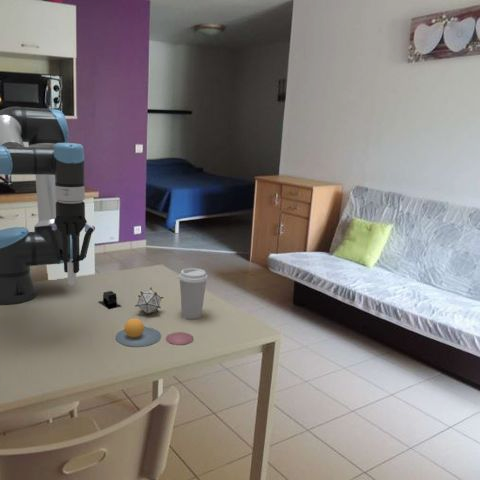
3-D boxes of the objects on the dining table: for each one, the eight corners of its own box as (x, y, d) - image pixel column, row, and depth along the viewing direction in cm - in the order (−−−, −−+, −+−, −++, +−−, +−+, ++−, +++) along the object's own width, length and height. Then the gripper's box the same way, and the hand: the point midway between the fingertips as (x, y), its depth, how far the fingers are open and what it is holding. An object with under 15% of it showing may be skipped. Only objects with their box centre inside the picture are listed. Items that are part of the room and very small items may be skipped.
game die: (147, 321, 159) (151, 292, 163) (166, 318, 155) (170, 289, 159) (127, 314, 153) (132, 284, 157) (146, 311, 148) (151, 281, 152)
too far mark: (164, 344, 136) (164, 343, 136) (167, 332, 143) (167, 331, 143) (192, 345, 136) (192, 345, 136) (194, 333, 144) (194, 333, 144)
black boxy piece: (128, 309, 160) (128, 296, 159) (108, 314, 155) (108, 301, 154) (110, 298, 169) (110, 286, 168) (91, 302, 164) (91, 289, 163)
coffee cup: (199, 308, 163) (201, 266, 160) (210, 318, 155) (212, 275, 152) (173, 311, 159) (174, 268, 156) (183, 322, 151) (184, 277, 147)
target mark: (110, 345, 133) (110, 344, 133) (121, 326, 145) (121, 325, 145) (157, 348, 133) (157, 347, 133) (163, 328, 146) (163, 327, 146)
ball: (118, 328, 135) (135, 320, 135) (123, 320, 141) (139, 312, 140) (128, 344, 137) (145, 336, 136) (132, 335, 142) (148, 327, 141)
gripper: (40, 201, 126) (43, 286, 131) (90, 204, 126) (91, 289, 132) (51, 197, 133) (53, 277, 139) (98, 200, 133) (98, 280, 139)
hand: (72, 283), depth 135 cm, fingers closed
